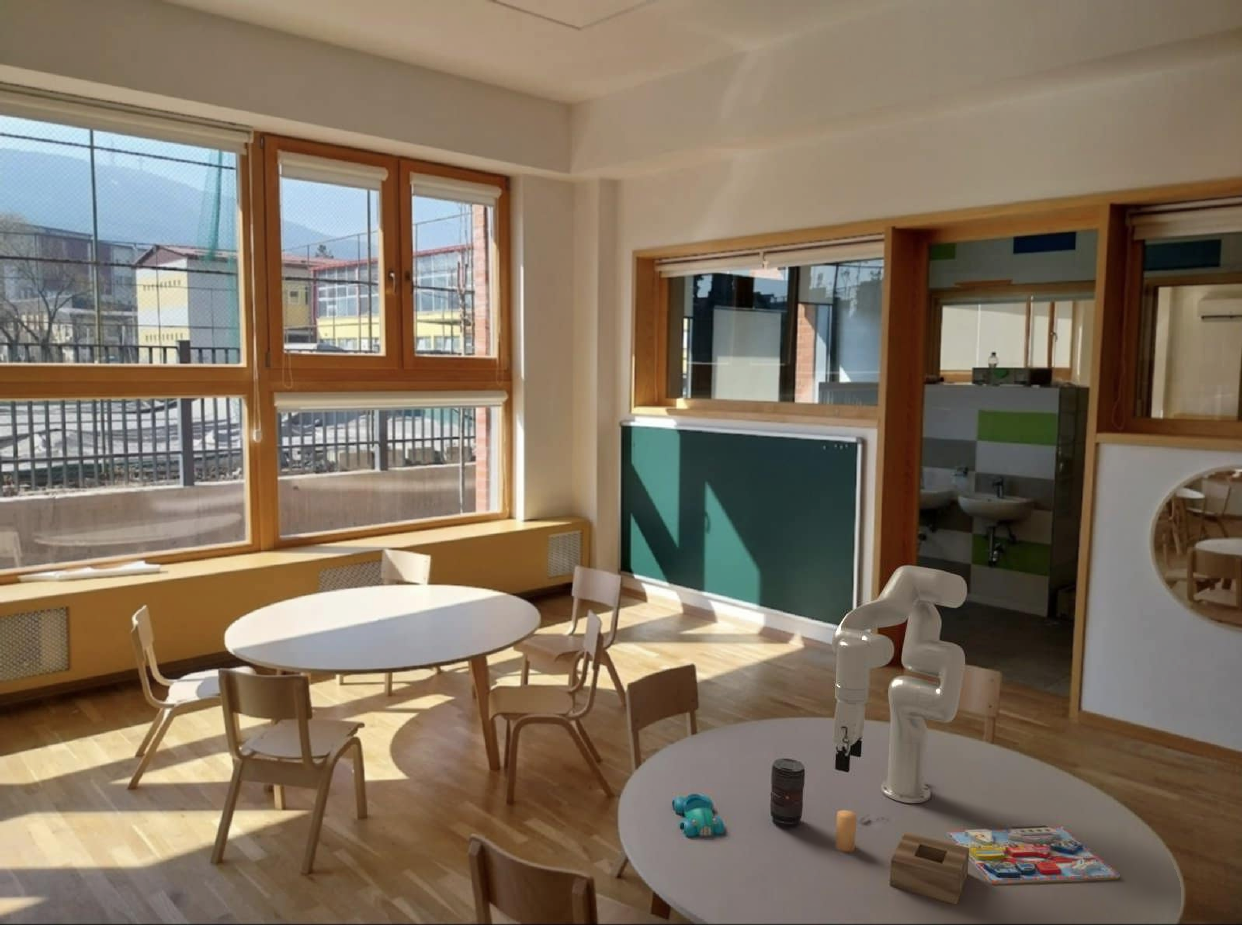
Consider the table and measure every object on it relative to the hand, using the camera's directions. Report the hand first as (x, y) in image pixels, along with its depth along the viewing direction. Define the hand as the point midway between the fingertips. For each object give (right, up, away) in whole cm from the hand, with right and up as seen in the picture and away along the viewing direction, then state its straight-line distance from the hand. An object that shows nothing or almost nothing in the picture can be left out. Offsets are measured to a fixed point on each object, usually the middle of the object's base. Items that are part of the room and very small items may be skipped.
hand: (848, 762), depth 217 cm
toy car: (-34, -19, +15) cm, 42 cm away
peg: (0, -21, +2) cm, 21 cm away
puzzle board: (+42, -22, 0) cm, 48 cm away
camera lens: (-12, -19, +13) cm, 26 cm away
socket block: (+15, -22, -11) cm, 29 cm away
